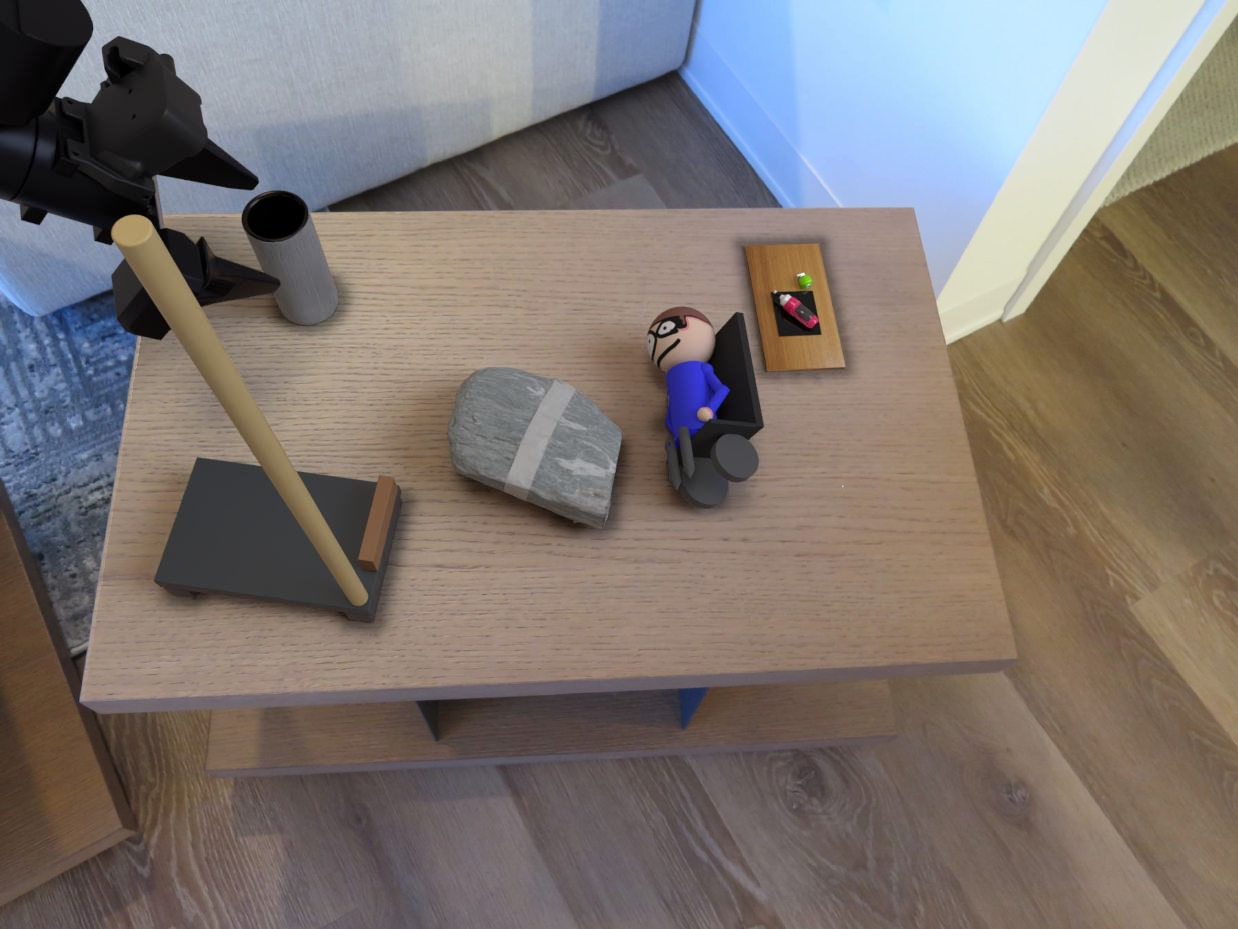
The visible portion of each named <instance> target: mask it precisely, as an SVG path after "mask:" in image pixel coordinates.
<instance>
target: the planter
mask: <svg viewBox="0 0 1238 929" xmlns="http://www.w3.org/2000/svg"><path fill="white" fill-rule="evenodd" d="M311 214H312V213H311V211H310V209H309V206H308V204H307V203H306V200H304V199H303V198H302V197H301V196H299V195H298V194H296V193H295V192H291V191H288V190H283V189H277V190H276V189H275V190H269V191H268V190H267V191H265V192H262V193H259V194H257V195H256V196H254V197H253V198H251V199H250V200H249V201H248V202H247V204H246V205H245V206H244V208H243V210H242V213H241V219H240V221H241V222H240V223H241V227H242V228H243V229H242V230H243V231H244V233H245V235H246V237H247V239H248V242H249V244H250V245H251V249H252V250H253V253H254V255H255V258H256V260H257V261H258V262H257V263H258V264H259V266H260V268H261V272H264V273H266V274H268V275H271V276H273V277H275V278H277V279H279V280H280V282H281V286H280V287H279V288H278V289H277V290H276V291H275V292H274V293H272V295H273V297H274V299H275V301H276V303H277V306H278V308H279V310H280V311H281V313H282V315H283V316H284V317H285V318H286V319H287V320H288V321H290V322H292V323H293V324H297V325H301V326H313V325H318V324H320V323H322V322H324V321H326V320H328V319H329V318H331V316H332V315H333V314H334V313H335V311H336V310H337V308H338V306H339V293H338V289H337V287H336V284H335V281H334V278H333V275H332V271H331V269H330V267H329V264H328V260H327V258H326V255H325V251H324V249H323V245H322V244H321V241H320V240H321V239H320V238H319V235H318V232H317V229H316V226H315V223H314V221H313V217H312V215H311Z"/></svg>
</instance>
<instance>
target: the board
mask: <svg viewBox="0 0 1238 929" xmlns="http://www.w3.org/2000/svg"><path fill="white" fill-rule="evenodd" d="M744 250H745V255H746V260H747V266H748V270H749V272H748V273H749V278H750V282H751V288H752V294H753V300H754V305H755V306H754V307H755V311H756V317H757V322H758V328H759V333H760V340H761V345H762V351H763V356H764V362H765V369H766V372H767V373H769V372H771V373H772V372H789V371H790V372H791V371H793V372H795V371H816V370H838V369H846V367H847V366H846V361H845V357H844V352H843V348H842V343H841V339H840V338H841V337H840V333H839V329H838V324H837V319H836V316H835V311H834V307H833V302H832V297H831V292H830V288H829V283H828V279H827V274H826V270H825V264H824V260H823V256H822V251H821V246H820V243H791V244H789V243H788V244H760V245H759V244H758V245H745V246H744Z"/></svg>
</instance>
